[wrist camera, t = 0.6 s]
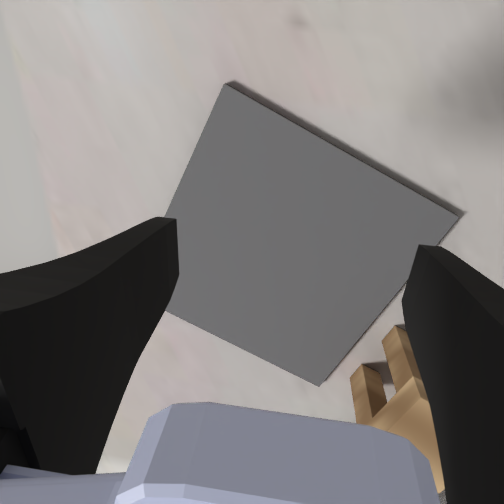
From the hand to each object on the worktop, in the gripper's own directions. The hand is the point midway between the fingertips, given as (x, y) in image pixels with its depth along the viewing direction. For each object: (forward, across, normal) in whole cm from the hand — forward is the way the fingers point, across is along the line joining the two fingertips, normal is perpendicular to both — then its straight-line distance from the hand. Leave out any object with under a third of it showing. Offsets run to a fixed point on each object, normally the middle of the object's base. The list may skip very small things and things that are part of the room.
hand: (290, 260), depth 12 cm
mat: (+10, +1, +6) cm, 12 cm away
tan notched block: (+10, -8, +13) cm, 18 cm away
